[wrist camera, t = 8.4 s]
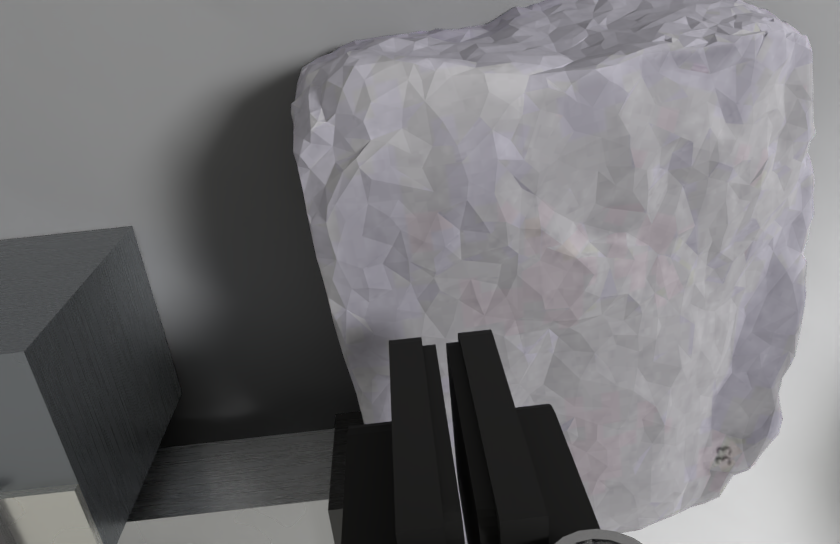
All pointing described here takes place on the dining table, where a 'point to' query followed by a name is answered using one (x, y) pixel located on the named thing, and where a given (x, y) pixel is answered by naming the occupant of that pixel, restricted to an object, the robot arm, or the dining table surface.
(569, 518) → the robot arm
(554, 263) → the stone block
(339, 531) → the bar with dark endcap
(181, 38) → the dining table surface
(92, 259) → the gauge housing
